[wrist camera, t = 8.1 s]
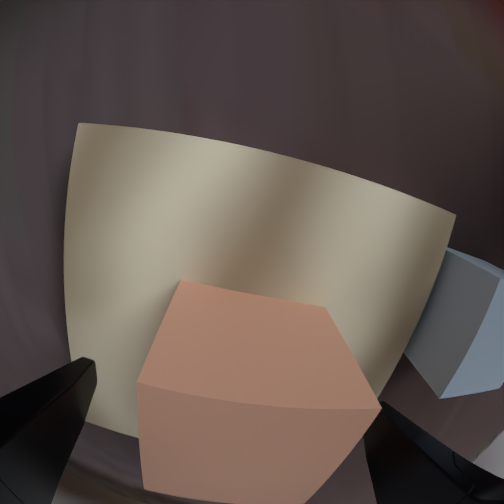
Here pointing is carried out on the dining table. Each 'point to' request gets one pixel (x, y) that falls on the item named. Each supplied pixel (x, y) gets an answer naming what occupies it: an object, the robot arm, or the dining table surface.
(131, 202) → the birch board
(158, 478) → the terracotta block
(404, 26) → the dining table surface
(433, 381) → the slate block
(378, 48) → the dining table surface
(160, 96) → the dining table surface
